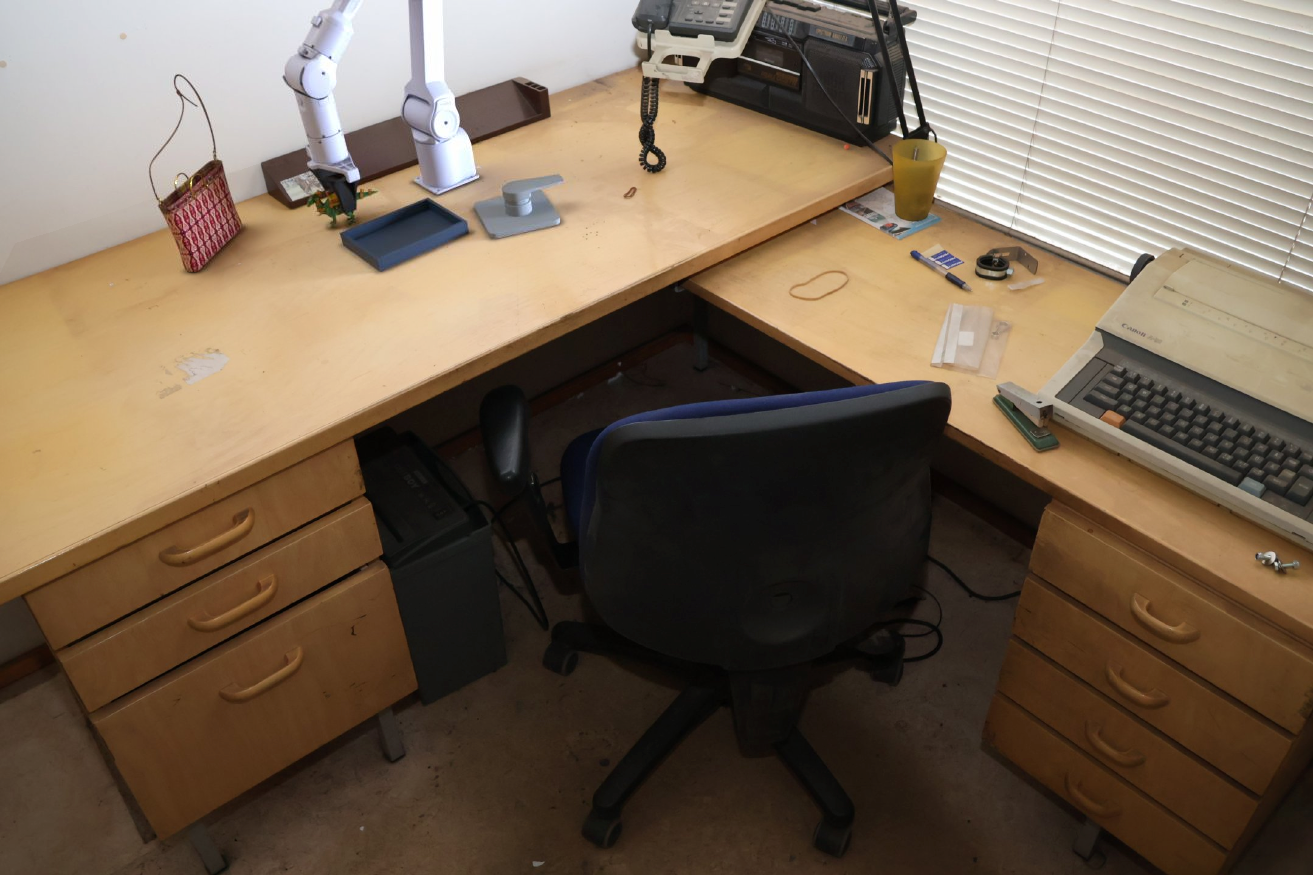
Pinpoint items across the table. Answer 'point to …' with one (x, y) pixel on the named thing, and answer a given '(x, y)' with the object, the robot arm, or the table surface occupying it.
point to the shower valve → (519, 208)
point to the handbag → (200, 208)
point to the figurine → (335, 205)
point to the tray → (404, 233)
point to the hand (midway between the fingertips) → (344, 207)
